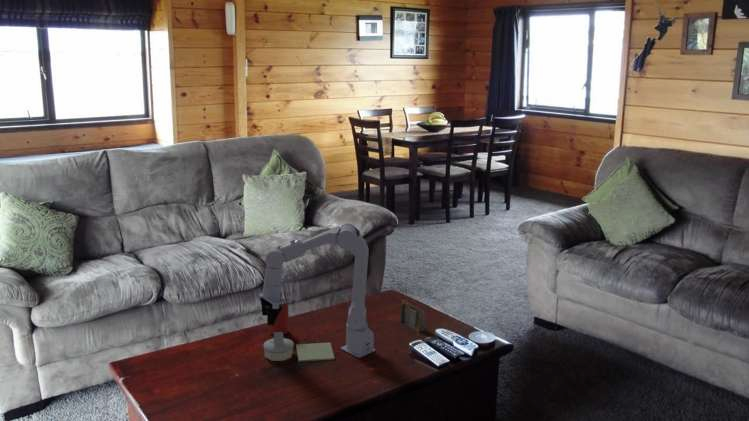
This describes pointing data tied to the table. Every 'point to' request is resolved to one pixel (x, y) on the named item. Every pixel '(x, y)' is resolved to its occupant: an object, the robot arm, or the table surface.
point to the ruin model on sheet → (412, 316)
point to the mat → (314, 352)
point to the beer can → (281, 319)
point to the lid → (278, 344)
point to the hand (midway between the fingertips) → (268, 319)
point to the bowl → (278, 355)
